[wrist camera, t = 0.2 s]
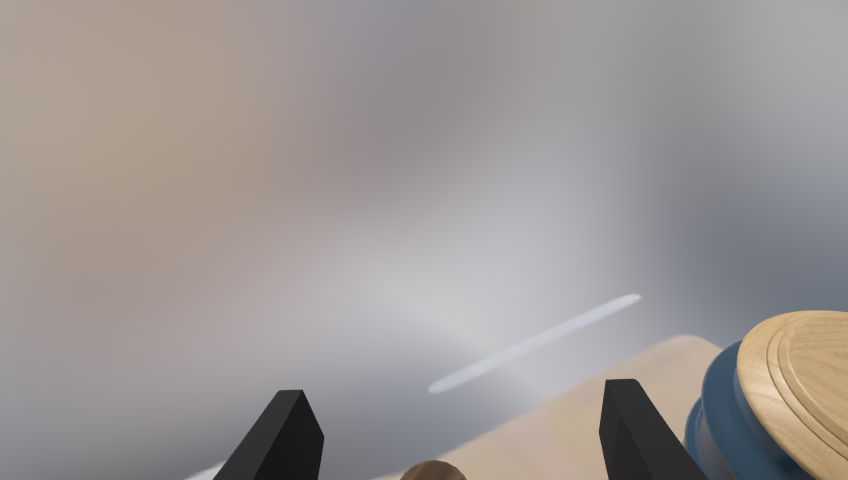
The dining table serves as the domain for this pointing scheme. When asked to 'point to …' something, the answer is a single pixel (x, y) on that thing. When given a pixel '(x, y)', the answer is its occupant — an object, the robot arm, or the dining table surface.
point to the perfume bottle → (433, 471)
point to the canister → (776, 403)
